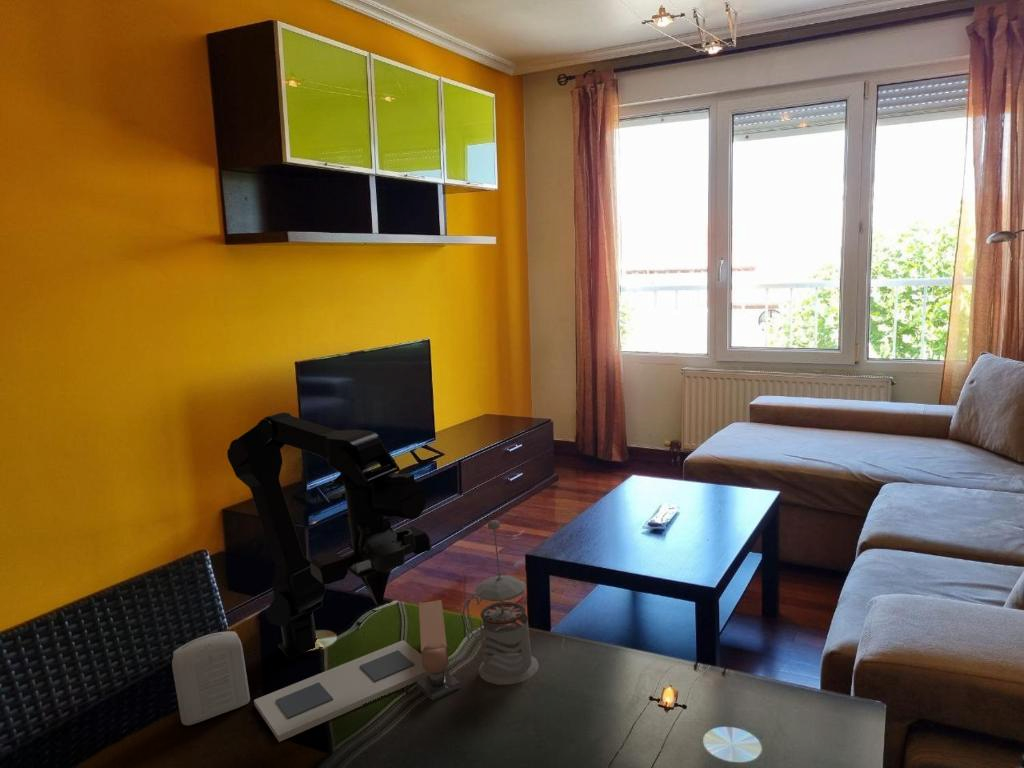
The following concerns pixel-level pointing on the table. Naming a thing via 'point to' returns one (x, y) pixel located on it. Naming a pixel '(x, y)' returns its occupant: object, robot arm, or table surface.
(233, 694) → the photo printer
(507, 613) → the french press
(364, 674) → the panel
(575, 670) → the table surface
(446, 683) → the dark plate
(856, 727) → the table surface
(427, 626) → the cable arm
